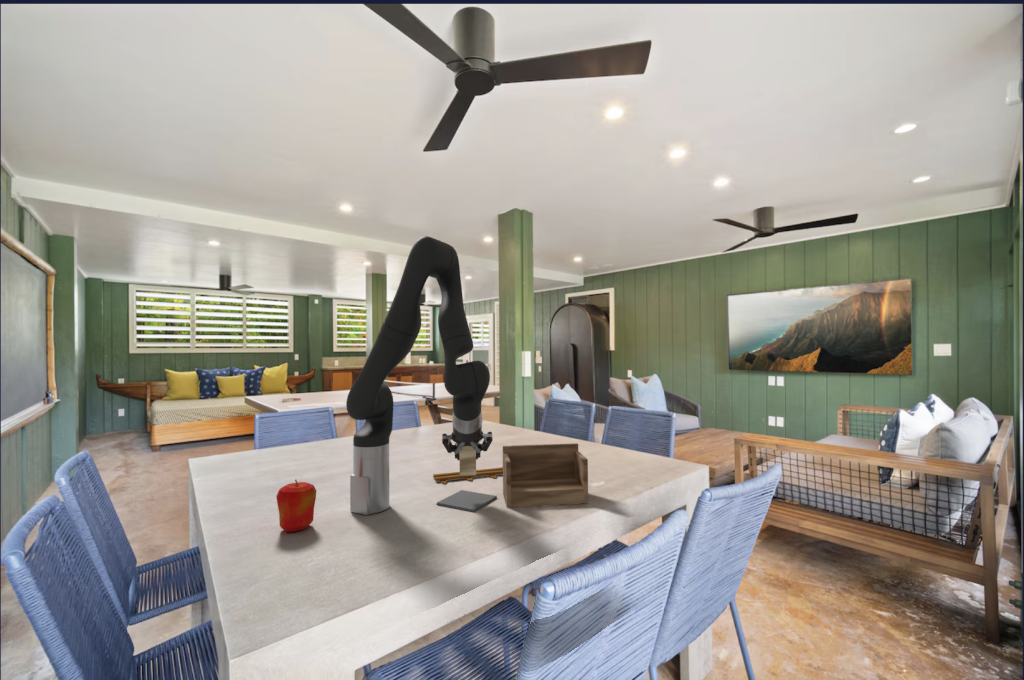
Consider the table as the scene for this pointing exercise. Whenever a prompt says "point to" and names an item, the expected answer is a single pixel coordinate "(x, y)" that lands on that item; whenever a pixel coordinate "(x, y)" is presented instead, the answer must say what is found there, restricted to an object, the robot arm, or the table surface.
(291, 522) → the apple
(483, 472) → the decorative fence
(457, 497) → the charcoal mat
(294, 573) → the table surface
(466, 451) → the maple block
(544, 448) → the walnut cubby
